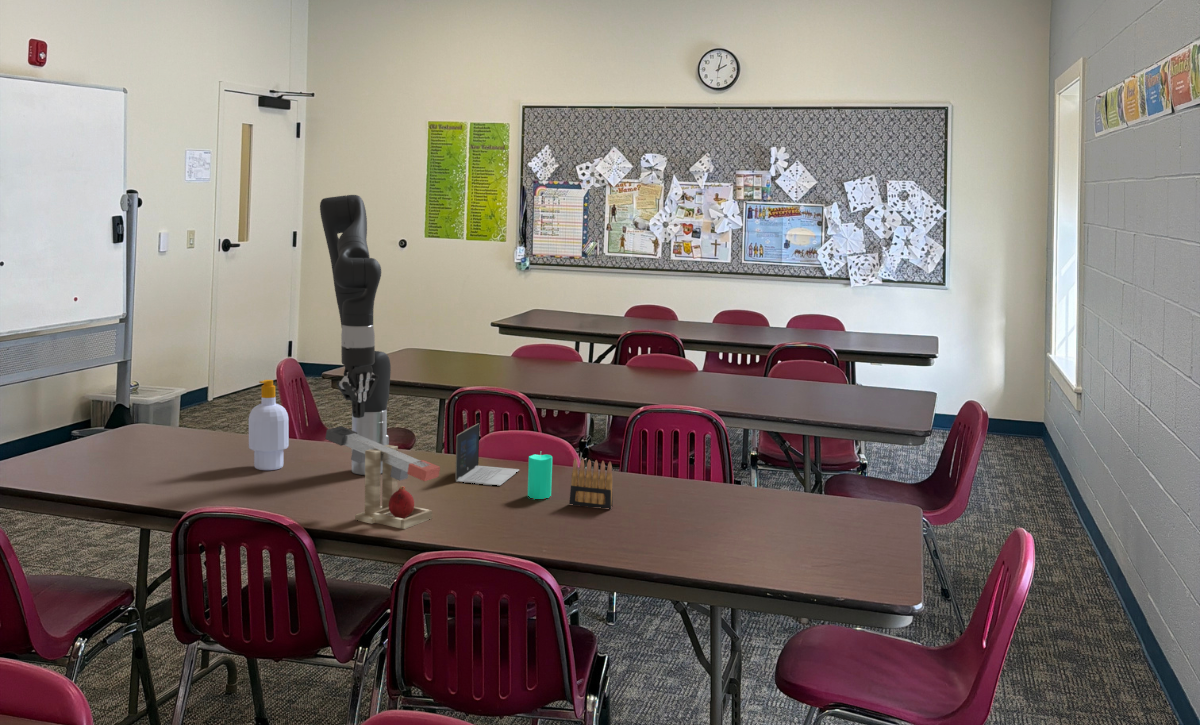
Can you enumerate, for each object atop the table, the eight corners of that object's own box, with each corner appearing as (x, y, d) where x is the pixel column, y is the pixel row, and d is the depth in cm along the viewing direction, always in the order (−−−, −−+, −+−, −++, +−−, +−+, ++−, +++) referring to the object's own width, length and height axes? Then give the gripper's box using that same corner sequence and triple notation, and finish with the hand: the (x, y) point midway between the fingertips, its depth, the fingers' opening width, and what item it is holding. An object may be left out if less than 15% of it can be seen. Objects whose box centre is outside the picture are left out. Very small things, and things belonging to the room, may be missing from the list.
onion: (408, 524, 228) (408, 490, 227) (384, 522, 229) (384, 488, 228) (417, 517, 234) (418, 484, 233) (394, 515, 235) (395, 482, 234)
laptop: (499, 487, 264) (501, 439, 262) (454, 483, 266) (455, 435, 265) (519, 472, 281) (520, 426, 280) (477, 468, 284) (478, 422, 282)
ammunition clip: (612, 508, 248) (614, 461, 247) (610, 510, 247) (612, 462, 245) (571, 503, 251) (572, 456, 249) (569, 505, 249) (570, 458, 248)
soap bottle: (240, 469, 271) (239, 380, 268) (266, 461, 281) (266, 376, 278) (271, 474, 268) (270, 384, 264) (296, 466, 277) (296, 379, 274)
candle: (555, 495, 257) (556, 450, 256) (544, 501, 252) (545, 454, 250) (534, 492, 260) (536, 446, 258) (523, 497, 254) (524, 451, 253)
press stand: (355, 519, 230) (355, 451, 228) (389, 508, 241) (390, 442, 238) (401, 530, 224) (402, 460, 222) (434, 517, 234) (436, 450, 232)
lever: (323, 450, 237) (326, 429, 236) (338, 446, 242) (341, 426, 241) (422, 492, 224) (426, 471, 223) (436, 488, 229) (440, 467, 228)
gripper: (363, 339, 240) (364, 410, 243) (326, 345, 229) (326, 420, 231) (389, 342, 237) (389, 414, 240) (352, 348, 225) (352, 424, 228)
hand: (358, 417), depth 236 cm, fingers closed
